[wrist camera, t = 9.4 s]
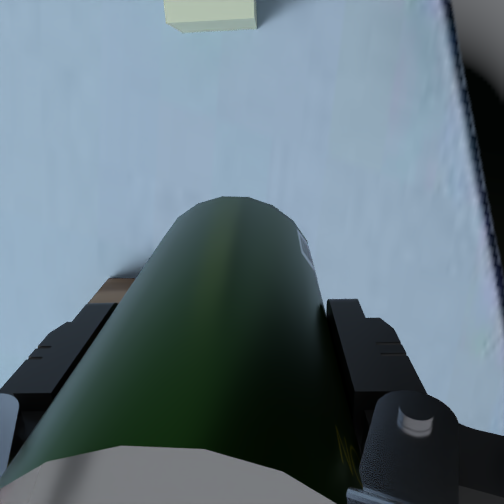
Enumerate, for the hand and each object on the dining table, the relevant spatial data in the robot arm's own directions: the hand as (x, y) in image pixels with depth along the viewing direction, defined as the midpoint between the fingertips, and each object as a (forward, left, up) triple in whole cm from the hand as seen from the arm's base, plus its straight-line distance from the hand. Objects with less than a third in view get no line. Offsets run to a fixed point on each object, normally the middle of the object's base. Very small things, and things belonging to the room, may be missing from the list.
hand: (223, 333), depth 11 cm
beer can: (0, 0, -5) cm, 5 cm away
